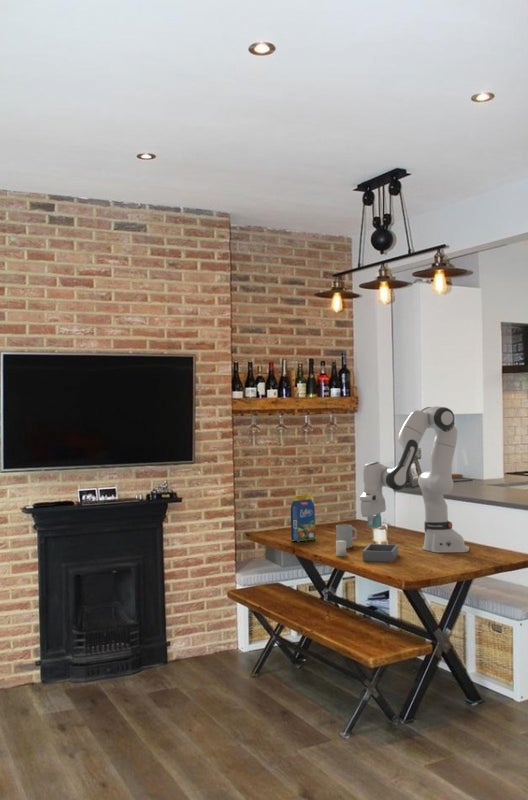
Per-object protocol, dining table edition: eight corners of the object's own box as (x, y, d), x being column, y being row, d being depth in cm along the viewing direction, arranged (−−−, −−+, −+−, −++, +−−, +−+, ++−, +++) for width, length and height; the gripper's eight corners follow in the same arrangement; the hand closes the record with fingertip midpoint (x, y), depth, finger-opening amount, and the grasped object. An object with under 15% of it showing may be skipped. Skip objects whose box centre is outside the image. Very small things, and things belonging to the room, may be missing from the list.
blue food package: (315, 540, 407) (314, 494, 408) (298, 542, 401) (296, 496, 401) (308, 538, 413) (307, 493, 413) (291, 541, 406) (290, 495, 406)
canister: (347, 554, 365) (346, 540, 365) (345, 556, 360) (344, 542, 360) (337, 554, 366) (337, 540, 367) (335, 556, 362) (334, 542, 362)
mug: (341, 548, 380) (341, 527, 380) (333, 546, 388) (332, 525, 388) (361, 546, 385) (360, 525, 386) (352, 543, 393) (352, 523, 393)
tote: (398, 555, 361) (398, 544, 361) (392, 562, 343) (392, 551, 344) (369, 554, 365) (369, 543, 365) (363, 561, 348) (362, 550, 348)
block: (372, 525, 366) (371, 515, 366) (381, 526, 363) (381, 516, 363) (367, 527, 362) (367, 517, 362) (377, 527, 359) (376, 517, 359)
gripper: (376, 492, 373) (378, 519, 373) (357, 497, 356) (359, 526, 356) (388, 492, 369) (389, 520, 369) (369, 498, 352) (371, 527, 352)
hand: (374, 523), depth 362 cm, fingers closed on block, 5 cm apart
